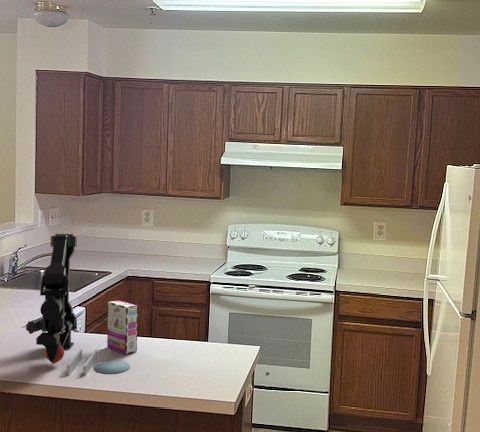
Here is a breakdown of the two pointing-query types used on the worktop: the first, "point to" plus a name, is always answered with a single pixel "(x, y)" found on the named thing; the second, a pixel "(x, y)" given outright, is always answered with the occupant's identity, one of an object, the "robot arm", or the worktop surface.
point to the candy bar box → (122, 327)
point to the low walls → (78, 358)
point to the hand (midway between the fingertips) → (54, 358)
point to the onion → (59, 354)
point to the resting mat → (112, 367)
